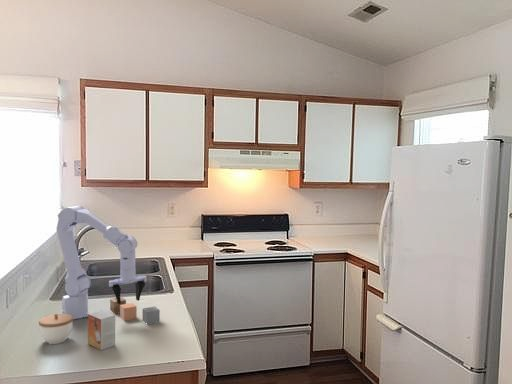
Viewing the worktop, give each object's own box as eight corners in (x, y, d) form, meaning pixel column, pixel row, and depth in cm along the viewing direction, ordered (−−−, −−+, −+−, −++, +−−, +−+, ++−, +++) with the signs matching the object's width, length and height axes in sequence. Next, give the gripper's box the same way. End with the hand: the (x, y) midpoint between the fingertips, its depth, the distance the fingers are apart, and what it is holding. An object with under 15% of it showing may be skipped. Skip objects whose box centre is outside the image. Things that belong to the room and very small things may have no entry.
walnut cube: (113, 314, 178) (113, 302, 177) (110, 310, 182) (110, 298, 181) (126, 311, 180) (125, 300, 180) (122, 308, 184) (122, 297, 184)
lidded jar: (64, 332, 158) (63, 306, 157) (79, 340, 151) (78, 313, 150) (33, 341, 149) (33, 314, 149) (48, 349, 143) (47, 321, 142)
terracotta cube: (124, 320, 170) (123, 308, 170) (120, 317, 174) (120, 304, 174) (136, 318, 173) (136, 306, 172) (132, 314, 177) (132, 302, 176)
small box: (87, 344, 147) (87, 313, 147) (102, 339, 152) (101, 309, 151) (101, 350, 142) (100, 319, 142) (115, 345, 147) (115, 314, 146)
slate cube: (147, 325, 166) (147, 312, 166) (142, 321, 170) (142, 308, 170) (159, 322, 169) (159, 309, 168) (154, 318, 173) (154, 306, 172)
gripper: (112, 272, 165) (112, 307, 166) (149, 267, 173) (149, 300, 174) (107, 268, 171) (107, 302, 171) (143, 264, 179) (143, 296, 180)
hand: (128, 301), depth 173 cm, fingers open, 7 cm apart
